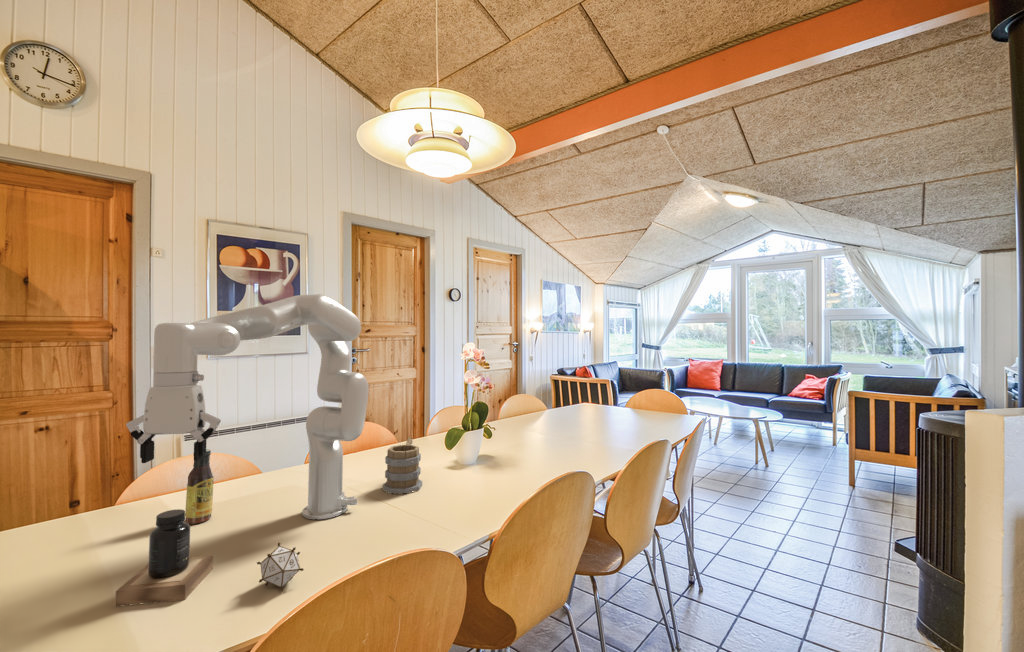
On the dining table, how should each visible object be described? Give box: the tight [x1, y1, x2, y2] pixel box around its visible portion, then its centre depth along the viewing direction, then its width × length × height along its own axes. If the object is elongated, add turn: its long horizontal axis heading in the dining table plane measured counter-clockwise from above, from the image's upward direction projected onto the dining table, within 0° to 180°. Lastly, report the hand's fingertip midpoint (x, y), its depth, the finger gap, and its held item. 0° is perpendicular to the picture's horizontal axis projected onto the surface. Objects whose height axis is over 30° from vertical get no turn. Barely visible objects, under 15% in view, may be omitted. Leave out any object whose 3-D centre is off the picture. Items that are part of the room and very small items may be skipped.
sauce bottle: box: [184, 448, 215, 525], centre depth 126 cm, size 6×6×20 cm
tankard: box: [382, 437, 423, 494], centre depth 158 cm, size 20×13×15 cm, turn 179°
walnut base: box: [115, 555, 214, 607], centre depth 93 cm, size 12×12×3 cm
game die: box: [256, 542, 305, 593], centre depth 93 cm, size 9×8×10 cm
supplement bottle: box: [147, 508, 191, 579], centre depth 93 cm, size 7×7×12 cm
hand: (173, 460), depth 94 cm, fingers open, 9 cm apart
